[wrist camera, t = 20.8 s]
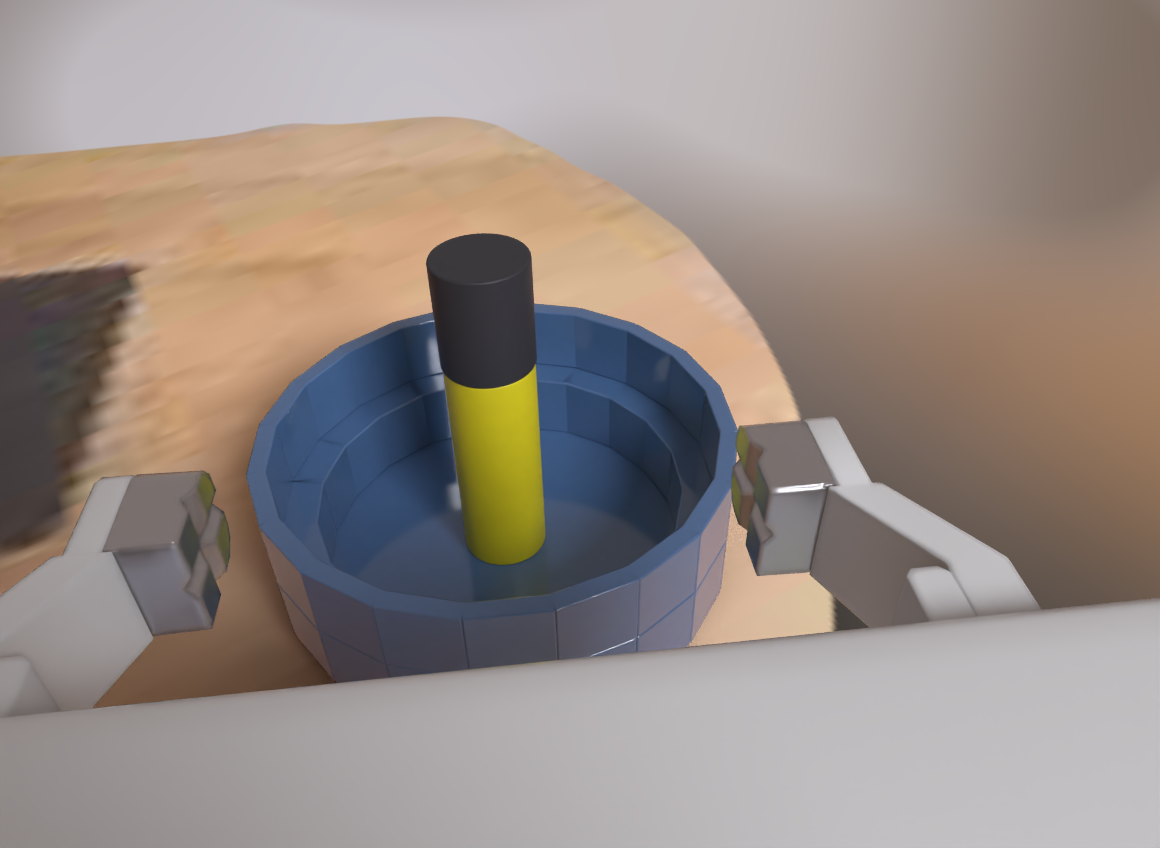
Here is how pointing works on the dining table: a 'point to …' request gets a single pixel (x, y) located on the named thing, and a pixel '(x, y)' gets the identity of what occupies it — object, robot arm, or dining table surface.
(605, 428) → the bowl
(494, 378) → the highlighter
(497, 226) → the dining table surface
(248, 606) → the dining table surface
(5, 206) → the dining table surface
